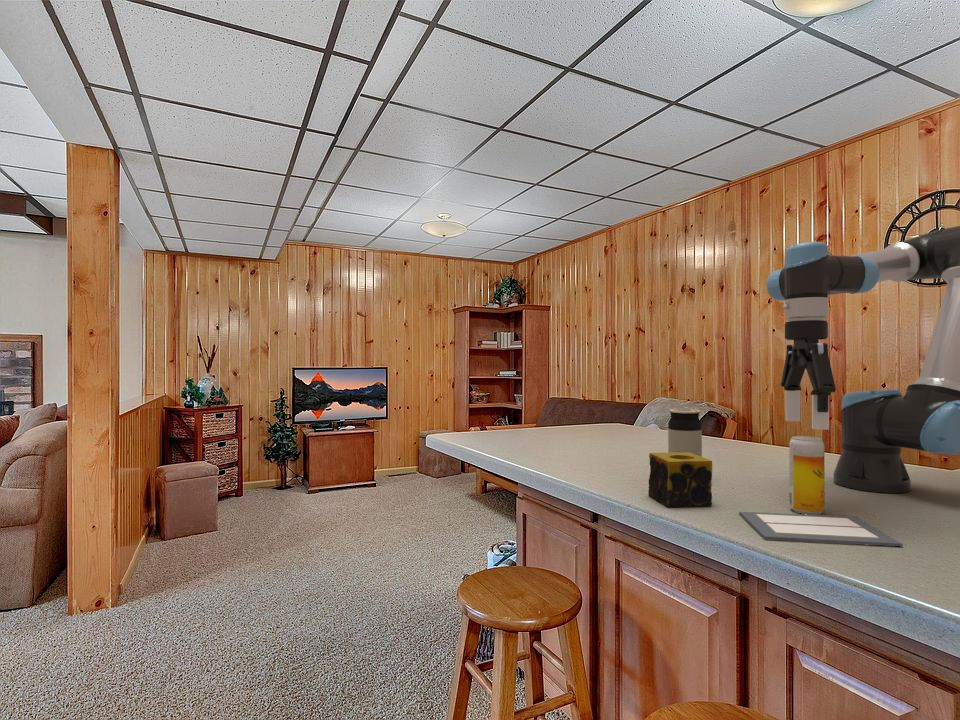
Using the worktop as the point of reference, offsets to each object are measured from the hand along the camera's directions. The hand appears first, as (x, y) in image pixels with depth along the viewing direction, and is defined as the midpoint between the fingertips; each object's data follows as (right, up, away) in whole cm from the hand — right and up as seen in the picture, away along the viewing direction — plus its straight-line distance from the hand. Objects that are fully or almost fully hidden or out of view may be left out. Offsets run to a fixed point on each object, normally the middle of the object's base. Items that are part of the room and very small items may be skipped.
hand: (805, 425), depth 108 cm
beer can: (0, -18, 0) cm, 18 cm away
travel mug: (-14, -18, +28) cm, 36 cm away
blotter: (-5, -18, -11) cm, 21 cm away
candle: (-23, -18, +9) cm, 30 cm away
